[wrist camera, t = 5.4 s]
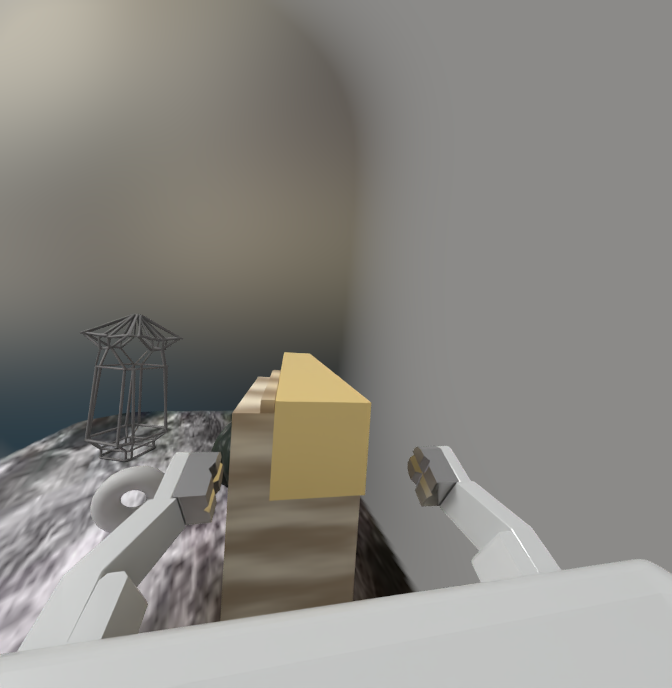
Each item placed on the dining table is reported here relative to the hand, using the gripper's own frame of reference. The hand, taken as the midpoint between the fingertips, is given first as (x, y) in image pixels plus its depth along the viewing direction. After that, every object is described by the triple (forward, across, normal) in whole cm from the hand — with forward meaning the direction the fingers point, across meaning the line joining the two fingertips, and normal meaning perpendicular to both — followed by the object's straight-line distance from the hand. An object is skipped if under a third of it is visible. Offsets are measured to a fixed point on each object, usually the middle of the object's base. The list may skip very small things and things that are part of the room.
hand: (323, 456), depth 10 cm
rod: (+10, 0, -6) cm, 12 cm away
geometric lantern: (+39, -39, -54) cm, 78 cm away
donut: (+15, -24, -40) cm, 49 cm away
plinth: (+1, 0, -32) cm, 32 cm away
